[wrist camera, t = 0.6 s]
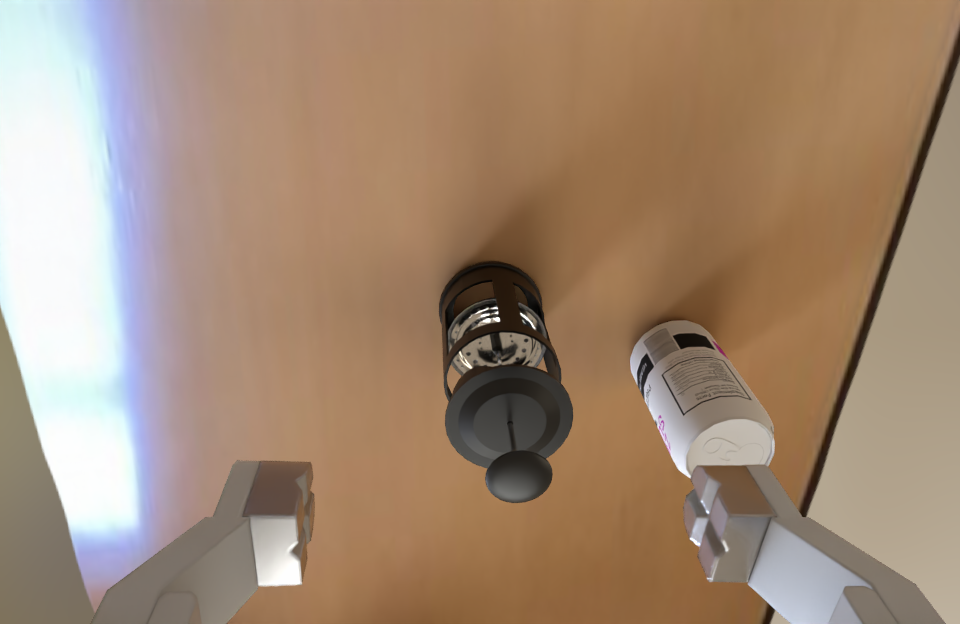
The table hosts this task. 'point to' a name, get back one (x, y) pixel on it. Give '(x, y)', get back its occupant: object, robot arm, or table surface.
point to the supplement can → (700, 399)
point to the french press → (503, 382)
